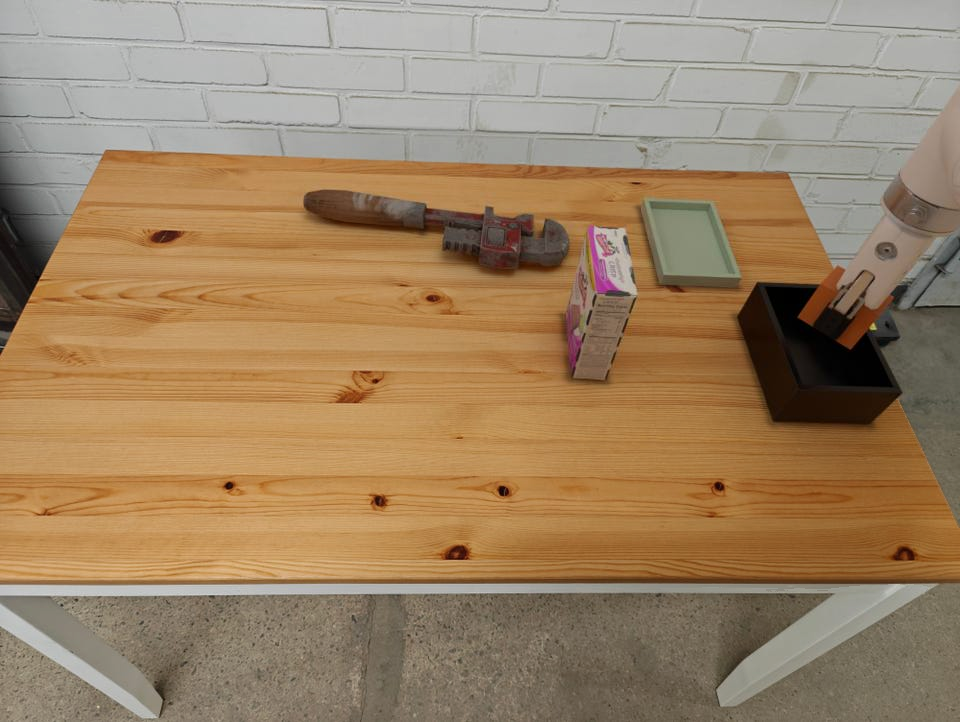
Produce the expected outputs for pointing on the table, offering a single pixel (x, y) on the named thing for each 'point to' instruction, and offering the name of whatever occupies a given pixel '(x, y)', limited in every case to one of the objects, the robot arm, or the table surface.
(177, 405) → the table surface
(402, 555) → the table surface
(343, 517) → the table surface
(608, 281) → the candy bar box
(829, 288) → the orange brown rectangular block
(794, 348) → the dark open storage bin
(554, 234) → the pipe wrench
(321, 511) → the table surface
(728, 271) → the shallow green tray
